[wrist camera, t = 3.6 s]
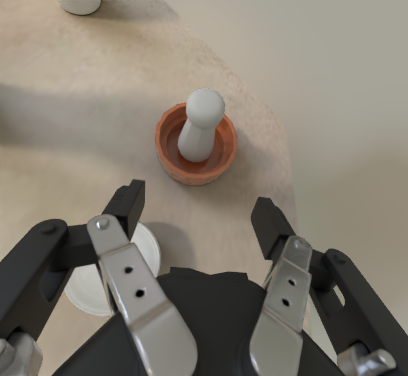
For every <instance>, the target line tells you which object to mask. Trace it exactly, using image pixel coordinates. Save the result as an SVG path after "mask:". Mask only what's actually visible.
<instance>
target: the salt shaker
mask: <svg viewBox="0 0 408 376" xmlns="http://www.w3.org/2000/svg"><path fill="white" fill-rule="evenodd" d="M224 112H225V103H224V101H223V98H222V97H221V96H220V95H219V94H218V93H217V92H216V91H214V90H211V89H209V88H199V89H197V90H195V91H193V92H192V93H191V95H190V96H189V97H188V100H187V104H186V114H187V117H188V118H187V121H186V123H185V125H184V127H183V129H182V132H181V134H180V136H179V139H178V148H179V151H180V154H181V155H182V156H183V157H184V158H185V159H186V160H188V161H191V162H194V163H195V162H203V161H204V160H206V159H208V158H209V157H210V156H211V154H212V152H213V149H214V139H215V127H216V126H218V124H219V123H220V121H221V120H222V118H223V117H224Z"/></svg>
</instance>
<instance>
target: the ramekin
mask: <svg viewBox="0 0 408 376" xmlns="http://www.w3.org/2000/svg"><path fill="white" fill-rule="evenodd" d="M132 242H134V243H135V244H136V245H137V247H138V249H139V250H140V252H141V254H142V256H143V257H144V259H145V261H146V262H147V264H148V266H149V268H150V269H151V271H152V273H153V274H154V276H155V278H156V277H158V274H159V270H160V265H161V252H160V247H159V244H158V241H157V239H156V237H155V236H154V234H153V233H152V231H151V230H150V229H149V228H148V227H146V226H145V225H144V224H142V223H141V222H139V221H138V224H137V226H136V229H135V232H134V234H133V237H132V240H131V242H130V243H132ZM64 291H65V293H66V295H67V297H68V298H69V300H70V301H71V302H72V303H73V305H74V306H75V307H77V308H78V309H80V310H81V311H83V312H85V313H88V314H90V315H95V316H112V314H111V311H110V308H109V305H108V302H107V299H106V295H105V292H104V289H103V286H102V283H101V280H100V278H99V275H98V272H97V269H96V267H95V264H92V265H87V266H82V267H76V268H75V270H74V271H73V273H72V275H71V277H70V279H69V281H68V283H67V285H66V287H65V288H64Z"/></svg>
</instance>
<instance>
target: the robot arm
mask: <svg viewBox="0 0 408 376" xmlns="http://www.w3.org/2000/svg"><path fill="white" fill-rule="evenodd" d="M144 203H145V181H143V180H136V179H133V180H132V182H131V183H130V185H129V186H122V187H120V188H119V189H117V191H116V192H115V194H114V196H113V197H112V199H111V200H110V202H109V203H108V205H107V206H106V208H105V209H104V211H103V212H102V214H101V215H98V216H95V217H93V218H92V219H91V220H89V222H88V223H87V224H83V225H75V226H67V223H66V222H65V221H63V220H60V219H50V220H46V221H43V222H40V223H38V224H36V225H35V226H34V227H32V228H31V229H30V231H29V232H28V233H27V234H26V235H25V236H24V237H23V238H22V239H21V240H20V241H19V242H18V243H17V245H16V246H15V247H14V248H13V249H12V250H11V251H10V252H9V253H8V254H7V255H6V256H5V257H4V259H3V260H2V261H1V262H0V376H38V373H39V370H40V367H41V364H42V360H43V354H42V351H41V349H40V347H39V346H38V345H37V344H36V341H37V339H38V337H39V336H40V334H41V332H42V330H43V328H44V326H45V324H46V322H47V320H48V319H49V317H50V315H51V313H52V311H53V309H54V307H55V305H56V303H57V302H58V300H59V298H60V296H61V294H62V292H63V290H64V288H65V287H66V285H67V283H68V281H69V279H70V277H71V275H72V273H73V271H74V270H75V268H76V267H82V266H87V265H92V264H95V267H96V269H97V272H98V275H99V278H100V280H101V283H102V286H103V289H104V292H105V295H106V299H107V302H108V305H109V308H110V311H111V314H112V317H111V318H110V319H109V320H108V321H107V322H106V323H105V324H104V325H103V326H102V327H101V328H100V329H99V330H98V331H97V332H96V333H95V334H94V335H93V336H91V337H90V338H89V339H88V340H87V341H86V342H85V343H84V344H83V345H82V346H81V347H80V348H79V349H78V350H77V351H76V352H75V353H74V354H73V355H72V356H71V357H70V358H69V359H68V360H66V361H65V362H64V363H63V364H62V365H61V366H60V367H59V368H58V369H57V370H56V371H55V372H54V374H53V375H52V376H408V336H407V334H406V333H405V331H404V330H403V329H402V327H401V326H400V325H399V323H398V322H397V321H396V319H395V318H394V317H393V316H392V314H391V313H390V311H389V310H388V309H387V308H386V306H385V305H384V303H383V302H382V301H381V299H380V298H379V297H378V295H377V294H376V293H375V291H374V290H373V289H372V287H371V286H370V285H369V283H368V282H367V281H366V279H365V278H364V277H363V275H362V274H361V273H360V271H359V270H358V269H357V267H356V266H355V265H354V263H353V262H352V261H351V259H350V258H349V257H348V256H347V255H345V254H344V253H342V252H340V251H339V250H336V249H328V250H327V251H326V252H325V253H322V252H319V251H316V250H314V249H312V247H311V245H310V244H309V243H308V242H307V241H306V240H305V239H303V238H301V237H299V236H296V234H295V232H294V231H293V229H292V227H291V226H290V224H289V222H287V219H286V217H285V216H284V214H283V212H282V211H281V210H280V209H279V208H278V207H277V206H275V205H274V204H273V202H272V200H271V199H270V198H264V197H259V198H258V199H257V202H256V204H255V206H254V209H253V211H252V214H251V222H252V225H253V228H254V231H255V233H256V236H257V239H258V242H259V245H260V247H261V250H262V253H263V256H264V258H265V260H272V261H273V263H272V265H271V267H270V269H269V271H268V274H267V276H266V278H265V280H264V283H263V285H262V287H261V286H259V285H258V284H256V283H255V282H253V281H250V280H248V277H247V273H239V272H224V273H218V274H213V275H209V274H205V273H202V272H199V271H196V270H193V269H190V268H178V267H171V269H170V273H168V274H164V275H161V276H158V277H156V278H155V276H154V274H153V273H152V271H151V269H150V268H149V266H148V264H147V262H146V261H145V259H144V257H143V256H142V254H141V252H140V250H139V249H138V247H137V245H136V244H135V243H134V242H132V243H130V242H131V240H132V237H133V234H134V232H135V229H136V226H137V224H138V221H139V218H140V216H141V213H142V211H143V208H144ZM336 285H337V286H338V287H339V289H340V291H341V292H342V294H343V296H344V299H345V305H344V307H343V305H342V304H341V302H340V300H339V298H338V296H337V295H336V293H335V291H334V289H333V288H334V287H335V286H336ZM308 293H309V294H310V296H311V298H312V301H313V303H314V305H315V307H316V310H317V312H318V314H319V316H320V319H321V321H322V323H323V325H324V328H325V330H326V332H327V334H328V336H329V339H330V341H331V343H332V345H333V348H334V350H335V352H336V354H337V365H338V366H337V365H336V364H335V363H334V362H333V361H332V360H331V359H330V358H329V357H328V356H327V355H326V354H325V353H324V351H323V350H322V349H321V348H320V347H319V346H318V345H317V344H316V343H315V342H314V341H313V340H312V339H311V338H310V337H309V336H308V335H307V333H306V332H305V331H304V330H303V329H302V325H303V320H304V315H305V309H306V304H307V299H308Z"/></svg>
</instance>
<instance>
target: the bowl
mask: <svg viewBox="0 0 408 376" xmlns="http://www.w3.org/2000/svg"><path fill="white" fill-rule="evenodd" d="M186 104H187V102H186V103H181V104H177V105H176V106H174V107H173V108H171V109H170V110H168V111H167V112H165V113H164V114H163V116H162V118H161V119H160V121H159V122H158V124H157V126H156V134H155V145H156V149H157V153H158V157H159V160H160V163H161V166H162V167H163V169H164V170H165V171H166V172H167V173H168V174H169V176H170V177H172V178H173V179H175V180H177V181H179V182H181V183H183V184H185V185H197V186H200V185H203V184H207V183H210V182H213V181H214V180H215V179H216V178H218V177H219V176H220V175H221V174H222V173H223V172H224V171H225V170H226V169H227V168H228V167H229V166H230V165H231V163H232V161H233V159H234V157H235V154H236V152H237V134H236V131H235V129H234V126H233V124H232V122H231V121H230V120H229V119H228V117H227V116H226V115H225V114H224V117H223V118H222V120H221V121H220V123H219V124H218V126H216V127H215V139H214V149H213V152H212V154H211V156H210V157H209V158H208V159H206V160H204V161H203V162H195V163H194V162H191V161H188V160H186V159H185V158H184V157H183V156H182V155H181V154H180V151H179V148H178V139H179V136H180V134H181V132H182V129H183V127H184V125H185V123H186V121H187V118H188V117H187V114H186Z"/></svg>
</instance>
